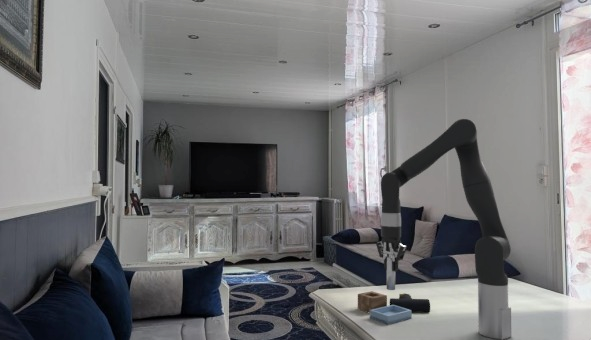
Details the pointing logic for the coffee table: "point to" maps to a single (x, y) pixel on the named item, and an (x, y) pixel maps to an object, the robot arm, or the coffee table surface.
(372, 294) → the pin block
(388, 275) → the pin
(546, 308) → the coffee table surface
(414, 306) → the pipe connector
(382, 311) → the tray
